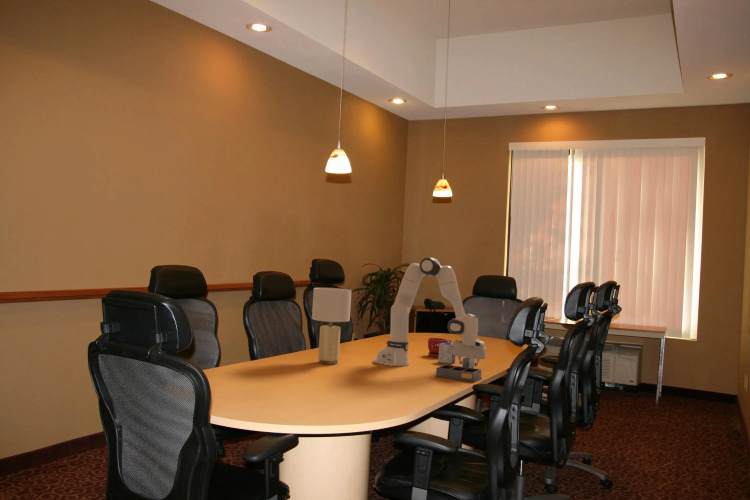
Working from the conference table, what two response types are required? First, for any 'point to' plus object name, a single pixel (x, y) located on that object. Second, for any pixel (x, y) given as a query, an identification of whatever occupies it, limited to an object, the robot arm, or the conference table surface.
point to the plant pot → (432, 348)
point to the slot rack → (458, 373)
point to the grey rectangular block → (468, 362)
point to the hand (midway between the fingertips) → (468, 364)
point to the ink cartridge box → (446, 353)
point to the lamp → (330, 320)
